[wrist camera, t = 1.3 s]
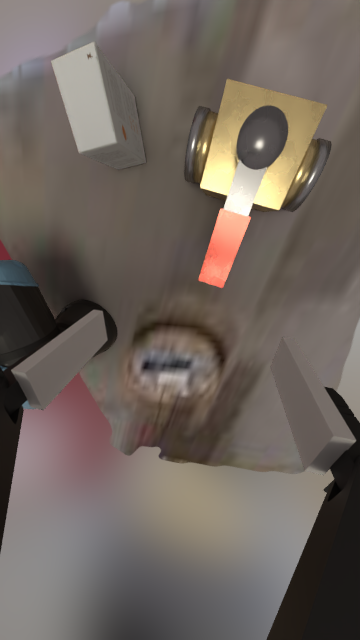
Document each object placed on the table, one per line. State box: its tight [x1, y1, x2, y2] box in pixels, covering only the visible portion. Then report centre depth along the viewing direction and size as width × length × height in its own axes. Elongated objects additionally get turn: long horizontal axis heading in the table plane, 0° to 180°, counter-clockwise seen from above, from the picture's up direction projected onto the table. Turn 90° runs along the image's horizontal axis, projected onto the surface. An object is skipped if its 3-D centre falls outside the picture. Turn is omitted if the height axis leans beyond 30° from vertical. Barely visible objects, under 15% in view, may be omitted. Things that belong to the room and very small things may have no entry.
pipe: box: [185, 106, 332, 212], centre depth 25 cm, size 16×8×8 cm, turn 76°
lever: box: [198, 105, 288, 288], centre depth 21 cm, size 17×4×3 cm, turn 166°
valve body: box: [193, 79, 327, 212], centre depth 24 cm, size 14×9×11 cm, turn 76°
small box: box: [51, 42, 146, 170], centre depth 25 cm, size 8×6×10 cm
